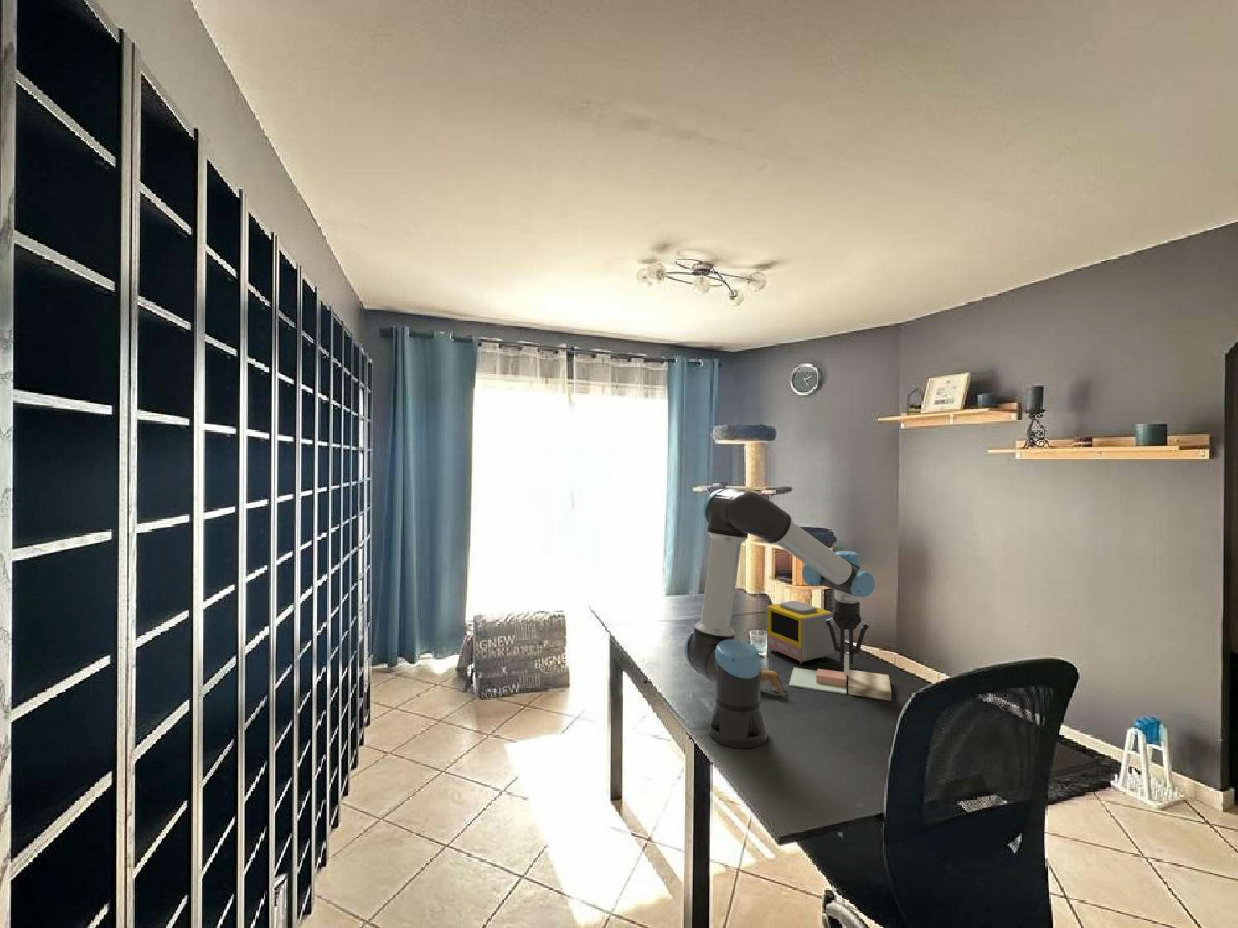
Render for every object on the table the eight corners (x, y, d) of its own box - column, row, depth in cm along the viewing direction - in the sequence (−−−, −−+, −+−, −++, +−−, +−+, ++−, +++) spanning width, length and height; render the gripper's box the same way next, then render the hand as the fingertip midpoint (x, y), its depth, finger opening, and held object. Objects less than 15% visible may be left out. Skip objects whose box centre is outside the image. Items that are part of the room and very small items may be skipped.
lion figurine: (738, 690, 177) (738, 662, 177) (741, 684, 182) (741, 656, 182) (787, 697, 171) (787, 668, 171) (788, 690, 176) (788, 662, 176)
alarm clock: (763, 650, 212) (763, 601, 212) (795, 643, 219) (795, 596, 219) (802, 668, 195) (802, 615, 194) (835, 659, 202) (835, 608, 201)
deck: (848, 694, 174) (848, 686, 174) (848, 676, 187) (848, 669, 187) (891, 700, 169) (891, 692, 169) (888, 682, 182) (888, 674, 182)
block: (816, 682, 181) (816, 675, 181) (817, 675, 187) (817, 668, 187) (846, 686, 178) (846, 679, 178) (846, 679, 183) (846, 672, 183)
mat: (789, 685, 180) (789, 684, 180) (793, 668, 194) (793, 667, 194) (846, 694, 173) (846, 692, 173) (846, 676, 187) (846, 674, 187)
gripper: (824, 601, 179) (824, 674, 179) (869, 605, 174) (869, 680, 174) (825, 595, 186) (825, 666, 186) (869, 599, 181) (868, 672, 181)
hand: (846, 673), depth 180 cm, fingers closed
